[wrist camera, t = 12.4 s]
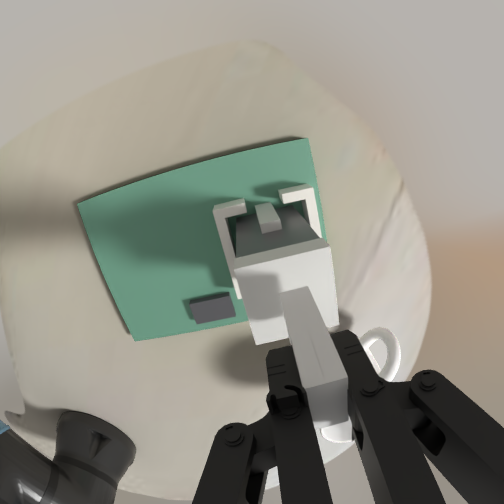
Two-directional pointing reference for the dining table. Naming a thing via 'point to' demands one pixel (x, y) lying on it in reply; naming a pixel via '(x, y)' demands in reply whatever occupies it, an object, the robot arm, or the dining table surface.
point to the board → (186, 236)
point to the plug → (281, 268)
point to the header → (239, 207)
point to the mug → (344, 430)
